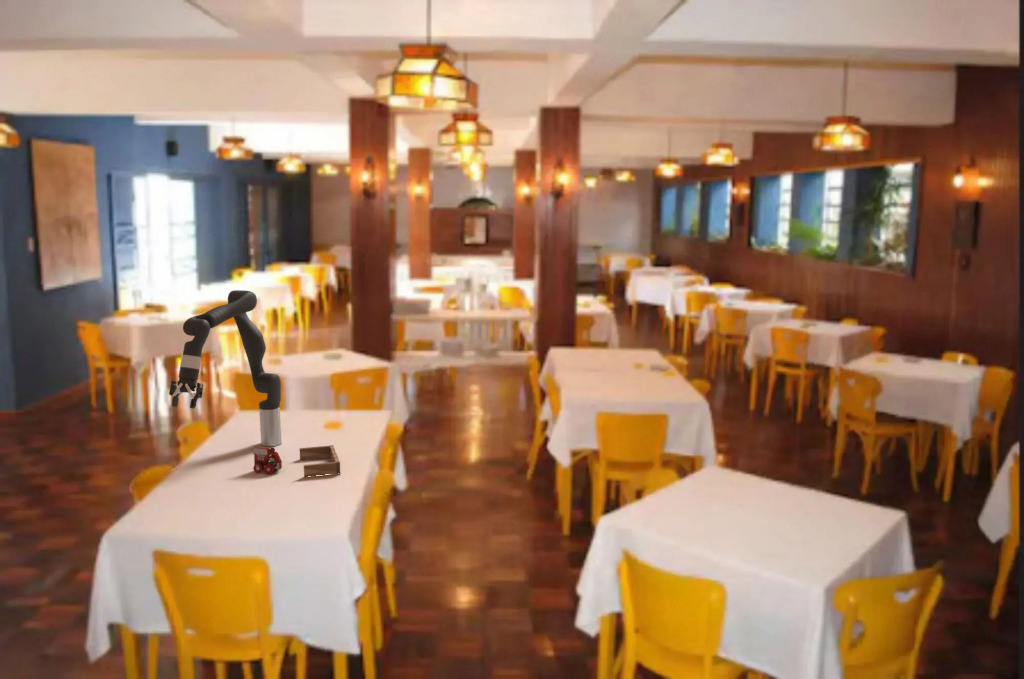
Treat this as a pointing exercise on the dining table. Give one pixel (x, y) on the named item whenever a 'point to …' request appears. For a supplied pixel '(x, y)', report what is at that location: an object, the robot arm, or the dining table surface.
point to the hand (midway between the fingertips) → (183, 407)
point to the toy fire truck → (266, 460)
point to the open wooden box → (321, 467)
